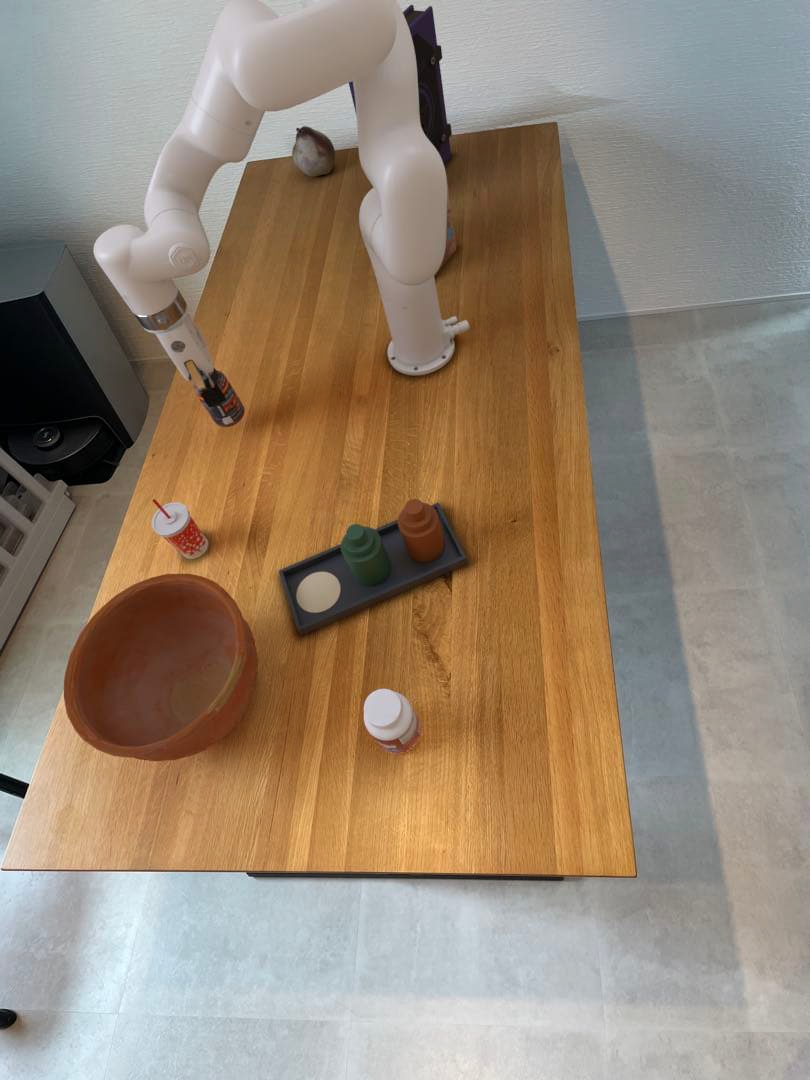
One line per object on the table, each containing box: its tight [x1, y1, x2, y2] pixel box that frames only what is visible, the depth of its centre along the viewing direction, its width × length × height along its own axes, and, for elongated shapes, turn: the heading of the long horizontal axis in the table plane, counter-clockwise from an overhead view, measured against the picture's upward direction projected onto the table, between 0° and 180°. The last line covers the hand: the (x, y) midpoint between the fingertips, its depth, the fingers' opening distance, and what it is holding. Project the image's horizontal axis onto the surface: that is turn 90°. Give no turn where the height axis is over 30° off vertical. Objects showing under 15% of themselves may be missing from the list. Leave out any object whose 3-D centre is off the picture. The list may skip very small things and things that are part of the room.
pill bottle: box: [363, 688, 422, 755], centre depth 87 cm, size 6×6×11 cm
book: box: [348, 4, 453, 188], centre depth 143 cm, size 24×6×30 cm, turn 147°
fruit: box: [291, 125, 336, 178], centre depth 161 cm, size 10×9×12 cm
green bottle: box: [340, 523, 391, 586], centre depth 100 cm, size 6×6×11 cm
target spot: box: [296, 572, 341, 613], centre depth 104 cm, size 7×7×1 cm
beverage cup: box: [151, 498, 209, 560], centre depth 108 cm, size 6×6×14 cm
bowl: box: [63, 573, 259, 762], centre depth 93 cm, size 25×25×15 cm
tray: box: [278, 502, 469, 637], centre depth 104 cm, size 27×11×2 cm, turn 111°
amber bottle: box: [397, 498, 445, 563], centre depth 100 cm, size 6×6×11 cm
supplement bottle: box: [193, 368, 246, 428], centre depth 118 cm, size 6×6×11 cm
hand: (213, 389), depth 117 cm, fingers closed on supplement bottle, 6 cm apart
